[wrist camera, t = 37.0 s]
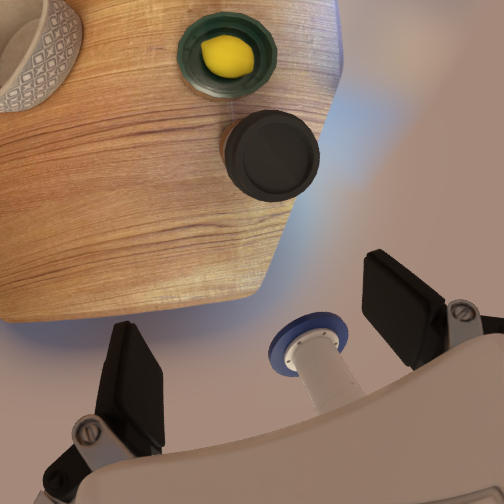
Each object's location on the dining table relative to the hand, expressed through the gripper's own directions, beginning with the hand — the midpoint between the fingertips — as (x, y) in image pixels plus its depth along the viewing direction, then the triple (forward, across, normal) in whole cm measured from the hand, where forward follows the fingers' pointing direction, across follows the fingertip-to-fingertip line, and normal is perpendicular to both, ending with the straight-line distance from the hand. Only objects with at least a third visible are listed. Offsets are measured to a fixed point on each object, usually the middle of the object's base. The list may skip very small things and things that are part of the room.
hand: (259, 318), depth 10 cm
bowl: (+28, -5, -15) cm, 33 cm away
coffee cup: (+29, -6, -4) cm, 30 cm away
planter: (+28, +20, -26) cm, 43 cm away
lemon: (+28, -5, -15) cm, 32 cm away
